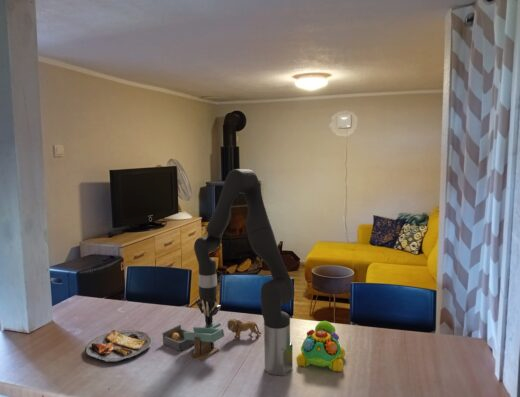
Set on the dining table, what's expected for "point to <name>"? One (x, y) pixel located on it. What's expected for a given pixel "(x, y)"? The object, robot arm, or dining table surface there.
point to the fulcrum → (203, 349)
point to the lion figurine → (242, 327)
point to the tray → (178, 344)
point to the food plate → (118, 344)
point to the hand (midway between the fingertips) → (208, 324)
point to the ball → (175, 336)
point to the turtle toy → (322, 348)
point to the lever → (205, 333)
